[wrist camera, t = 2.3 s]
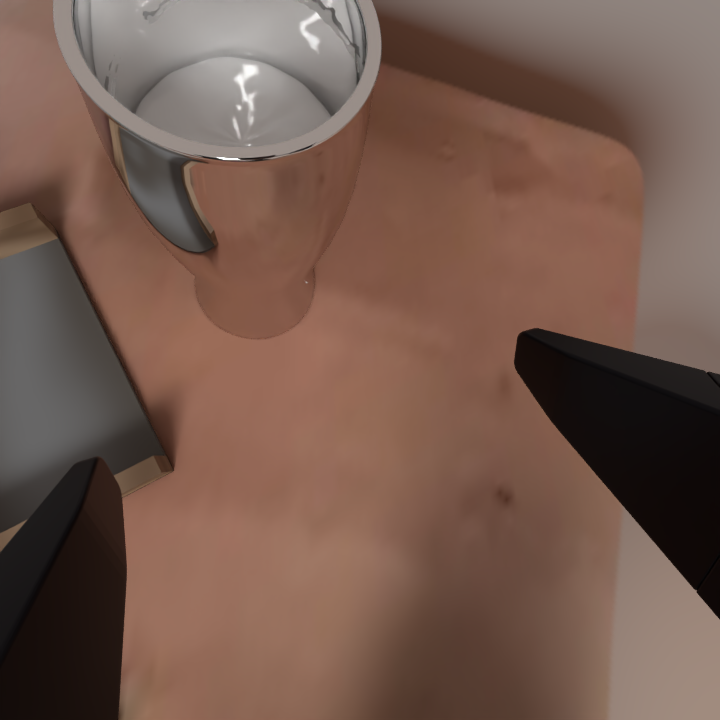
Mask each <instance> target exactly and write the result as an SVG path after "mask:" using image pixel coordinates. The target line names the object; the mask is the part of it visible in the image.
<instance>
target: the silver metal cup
mask: <svg viewBox="0 0 720 720" xmlns="http://www.w3.org/2000/svg"><path fill="white" fill-rule="evenodd" d="M53 19H54V27H55V32H56V37H57V41H58V44H59V47H60V50H61V53H62V55H63V58H64V60H65V62H66V64H67V66H68V68H69V70H70V71H71V73H72V75H73V76H74V78H75V80H76V82H77V85H78V87H79V89H80V92H81V94H82V96H83V99H84V101H85V104H86V107H87V109H88V112H89V114H90V117H91V119H92V122H93V124H94V126H95V129H96V131H97V133H98V136H99V138H100V140H101V143H102V145H103V147H104V150H105V152H106V154H107V157H108V159H109V161H110V163H111V165H112V167H113V169H114V171H115V173H116V175H117V177H118V179H119V181H120V183H121V185H122V187H123V189H124V191H125V192H126V194H127V196H128V198H129V199H130V201H131V202H132V204H133V205H134V207H135V209H136V210H137V212H138V213H139V215H140V217H141V218H142V220H143V221H144V223H145V224H146V226H147V227H148V229H149V230H150V231H151V232H152V234H153V235H154V236H155V237H156V238H157V239H158V240H159V242H160V243H161V244H162V245H163V246H164V247H165V248H166V249H167V251H168V252H169V253H170V254H171V255H172V256H173V257H174V258H175V259H176V260H177V261H178V262H179V263H180V264H182V265H183V266H184V267H185V268H186V269H187V270H188V271H189V272H190V273H191V274H193V275H194V276H195V279H194V283H195V292H196V296H197V299H198V302H199V304H200V307H201V308H202V310H203V312H204V313H205V315H206V316H207V317H208V318H209V319H210V320H211V321H212V322H213V323H214V324H215V325H216V326H218V327H219V328H220V329H222V330H224V331H225V332H227V333H230V334H232V335H235V336H238V337H241V338H246V339H266V338H271V337H275V336H278V335H280V334H283V333H285V332H286V331H288V330H290V329H291V328H293V327H294V326H295V325H296V324H298V323H299V322H300V321H301V319H302V318H303V317H304V316H305V314H306V313H307V311H308V310H309V308H310V305H311V303H312V300H313V296H314V288H315V281H314V273H313V267H314V266H315V265H316V263H317V262H318V261H319V259H320V258H321V257H322V255H323V254H324V252H325V251H326V250H327V248H328V247H329V245H330V243H331V241H332V240H333V238H334V236H335V234H336V233H337V231H338V229H339V227H340V225H341V223H342V221H343V219H344V217H345V214H346V211H347V209H348V206H349V203H350V200H351V197H352V195H353V192H354V189H355V186H356V181H357V177H358V173H359V169H360V165H361V161H362V157H363V152H364V147H365V141H366V136H367V130H368V124H369V118H370V111H371V105H372V98H373V92H374V87H375V83H376V80H377V77H378V73H379V69H380V64H381V53H382V42H381V31H380V25H379V21H378V17H377V14H376V10H375V8H374V5H373V3H372V0H53Z"/></svg>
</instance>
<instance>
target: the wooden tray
mask: <svg viewBox="0 0 720 720" xmlns="http://www.w3.org/2000/svg"><path fill="white" fill-rule="evenodd" d="M95 456H99V457H101V458H103V459H104V461H105V462H106V464H107V466H108V467H109V469H110V470H111V472H112V474H113V475H114V477H115V479H116V480H117V482H118V484H119V486H120V489H121V493H122V498H123V497H125V496H127V495H129V494H131V493H133V492H135V491H137V490H138V489H140V488H142V487H144V486H146V485H148V484H150V483H152V482H154V481H156V480H158V479H160V478H161V477H163V476H165V475H167V474H169V473H171V472H173V471H174V470H173V468H172V466H171V464H170V462H169V460H168V458H167V456H166V454H165V452H164V450H163V448H162V446H161V444H160V442H159V440H158V437H157V435H156V433H155V431H154V429H153V427H152V425H151V423H150V421H149V419H148V417H147V415H146V413H145V411H144V409H143V407H142V405H141V403H140V401H139V399H138V397H137V395H136V392H135V390H134V388H133V386H132V384H131V382H130V380H129V378H128V376H127V374H126V372H125V370H124V368H123V366H122V364H121V362H120V360H119V358H118V356H117V354H116V352H115V350H114V347H113V345H112V343H111V341H110V339H109V337H108V335H107V333H106V331H105V329H104V327H103V325H102V323H101V321H100V319H99V317H98V315H97V313H96V311H95V309H94V307H93V305H92V302H91V300H90V298H89V296H88V294H87V292H86V290H85V288H84V286H83V284H82V282H81V280H80V278H79V276H78V274H77V272H76V270H75V268H74V266H73V264H72V262H71V260H70V257H69V255H68V253H67V251H66V249H65V247H64V245H63V243H62V241H61V239H60V237H59V235H58V233H57V231H56V229H55V228H54V227H53V226H52V224H51V223H50V222H49V221H48V220H47V219H46V218H45V217H44V216H43V215H42V214H41V213H40V212H39V211H38V210H37V209H36V208H35V207H34V206H33V205H32V204H31V203H30V202H29V203H27V204H24V205H21V206H18V207H15V208H12V209H9V210H6V211H3V212H0V552H1V551H2V549H3V548H4V547H5V546H6V545H7V543H8V542H9V541H10V540H11V539H12V537H13V536H14V535H15V534H16V533H17V531H18V530H19V529H20V528H21V527H22V525H23V524H24V523H25V522H26V521H27V519H28V518H29V517H30V516H31V515H32V513H33V512H34V511H35V510H36V509H37V507H38V506H39V505H40V504H41V503H42V501H43V500H44V499H45V498H46V497H47V495H48V494H49V493H50V492H51V491H52V489H53V488H54V487H55V486H56V485H57V483H58V482H59V481H60V480H61V479H62V477H63V476H64V475H65V474H66V473H67V471H68V470H69V469H70V468H71V467H72V466H73V465H74V464H75V463H76V462H78V461H81V460H85V459H88V458H91V457H95Z"/></svg>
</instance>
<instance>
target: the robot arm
mask: <svg viewBox="0 0 720 720" xmlns="http://www.w3.org/2000/svg"><path fill="white" fill-rule="evenodd" d="M514 365H515V368H516V371H517V373H518V374H519V375H520V377H521V378H522V380H523V381H524V383H525V384H526V386H527V387H528V389H529V390H530V392H531V393H532V394H533V396H534V397H535V399H536V400H537V402H538V403H539V405H540V406H541V408H542V409H543V410H544V412H545V413H546V415H547V416H548V417H549V419H550V420H551V421H552V423H553V424H554V425H555V426H556V428H557V429H558V430H559V431H560V432H561V434H562V435H563V436H564V437H565V438H566V439H567V441H568V442H569V443H570V444H571V445H572V446H573V448H574V449H575V450H576V451H577V452H578V454H579V455H580V456H581V457H582V458H583V459H584V461H585V462H586V463H587V464H588V465H589V466H590V468H591V469H592V470H593V471H594V472H595V473H596V475H597V476H598V477H599V478H600V479H601V480H602V482H603V483H604V484H605V485H606V486H607V488H608V489H609V490H610V491H611V492H612V493H613V495H614V496H615V497H616V498H617V499H618V500H619V502H620V503H621V504H622V505H623V506H624V507H625V509H626V510H627V511H628V512H629V513H630V514H631V516H632V517H633V518H634V519H635V520H636V522H638V524H639V525H640V526H641V527H642V529H643V530H644V531H645V532H646V533H647V534H648V536H649V537H650V538H651V539H652V540H653V541H654V542H655V544H656V545H657V546H658V547H659V548H660V550H661V551H662V552H663V553H664V554H665V556H666V557H667V558H668V559H669V560H670V561H671V563H672V564H673V565H674V566H675V567H676V568H677V570H678V571H679V572H680V573H681V574H682V575H683V577H684V578H685V579H686V580H687V581H688V582H689V584H690V585H691V586H692V587H693V588H694V589H695V590H697V593H698V595H699V596H700V597H701V598H702V599H703V600H704V602H705V603H706V604H707V605H708V606H709V607H710V609H711V610H712V611H713V612H714V613H715V615H716V616H717V617H718V618H719V619H720V374H715V373H712V372H707V373H706V372H705V371H704V370H700V369H696V368H692V367H688V366H684V365H680V364H676V363H672V362H668V361H664V360H661V359H657V358H653V357H649V356H645V355H641V354H637V353H633V352H629V351H625V350H622V349H618V348H614V347H610V346H606V345H602V344H598V343H594V342H590V341H586V340H582V339H578V338H574V337H570V336H567V335H563V334H559V333H555V332H551V331H547V330H543V329H539V328H533V329H530V330H526V331H523V332H521V333H520V334H519V335H518V338H517V344H516V351H515V358H514ZM126 581H127V563H126V546H125V532H124V518H123V503H122V493H121V489H120V486H119V484H118V482H117V480H116V479H115V477H114V475H113V474H112V472H111V470H110V469H109V467H108V466H107V464H106V462H105V461H104V459H103V458H101V457H99V456H95V457H91V458H88V459H85V460H81V461H78V462H76V463H75V464H74V465H73V466H72V467H71V468H70V469H69V470H68V471H67V473H66V474H65V475H64V476H63V477H62V479H61V480H60V481H59V482H58V483H57V485H56V486H55V487H54V488H53V489H52V491H51V492H50V493H49V494H48V495H47V497H46V498H45V499H44V500H43V501H42V503H41V504H40V505H39V506H38V507H37V509H36V510H35V511H34V512H33V513H32V515H31V516H30V517H29V518H28V519H27V521H26V522H25V523H24V524H23V525H22V527H21V528H20V529H19V530H18V531H17V533H16V534H15V535H14V536H13V537H12V539H11V540H10V541H9V542H8V543H7V545H6V546H5V547H4V548H3V549H2V551H1V552H0V720H118V716H119V699H120V683H121V666H122V649H123V632H124V615H125V598H126Z"/></svg>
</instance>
